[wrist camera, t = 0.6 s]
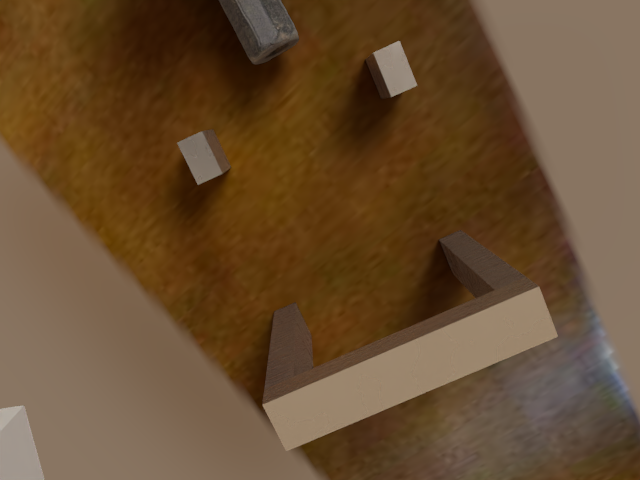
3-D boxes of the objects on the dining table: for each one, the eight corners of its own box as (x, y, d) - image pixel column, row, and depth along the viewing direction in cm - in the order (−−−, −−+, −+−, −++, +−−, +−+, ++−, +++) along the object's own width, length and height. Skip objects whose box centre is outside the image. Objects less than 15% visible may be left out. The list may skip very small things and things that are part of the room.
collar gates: (190, 139, 36) (133, 152, 23) (388, 48, 35) (436, 13, 23) (290, 344, 39) (286, 451, 26) (474, 264, 38) (558, 336, 26)
